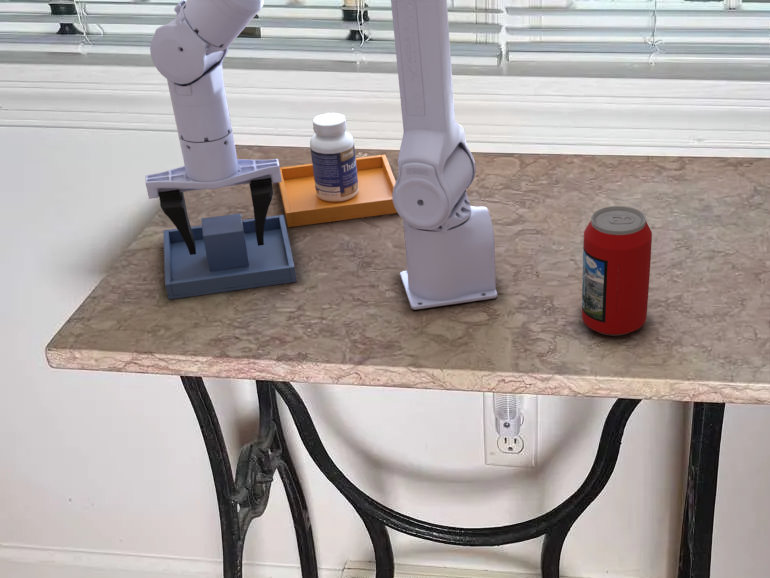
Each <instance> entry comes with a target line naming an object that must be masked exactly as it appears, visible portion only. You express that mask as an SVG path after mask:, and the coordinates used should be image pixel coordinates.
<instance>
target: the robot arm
mask: <svg viewBox="0 0 770 578" xmlns="http://www.w3.org/2000/svg"><path fill="white" fill-rule="evenodd" d="M264 4H265V0H181V1H179V2H178V3H177V4H176V5H175V7H174V8H173V11H174V12H175V18H174V19H173V20H171V21H170V22H168V23H166V24H162V25H160V26H159V27H157V28H156V29H155V31H154V35H153V37H152V38H151V41H150V44H149V45H150V46H149V53H150V57H151V60H152V63H153V65H154V67H155V69H156V70H157V72H158V73H159V74H160V75H161V76H162V77H164V78H165V79H166V81H167V87H168V91H169V96H170V101H171V106H172V111H173V116H174V120H175V125H176V131H177V136H178V141H179V145H180V150H181V155H182V160H183V166H179V167H176V168H172V169H169V170H165V171H161V172H157V173H152V174H146V175H145V177H144V180H145V182H144V183H145V186H146V187H145V188H146V193H147V195H148V199H149V200H151V199H157V198H158V199H159V206H160V208H161V210H162V211H163V213H164V214H165V215H166V217H167V218H168V219H169V220H170V221H171V223H172V224H173V225H174V226H175V229H178V231H179V232H180V234H181V236H182V237H183V239H184V241H185V243H186V245H187V248H188V250H189V253H190V255H193V254H196V247H195V241H194V236H193V233H192V229H191V227H192V226H191V223H190V219H189V215H188V210H187V204H186V200H185V192H194V191H202V190H215V189H221V188H225V187H233V186H241V185H249V190H250V196H251V201H252V202H251V203H252V208H253V219H254V220H255V231H256V237H257V243H258V246H260V245H264V226H265V220H266V217H268V216H267V215H268V212H269V208H270V205H271V202H272V200H273V196H274V186H273V184H277V183H278V182H282V179H281V173H280V161H279V158H273V159H247V158H246V159H243V158H242V159H240V158H238V154H237V150H236V143H235V138H234V132H233V127H232V120H231V115H230V109H229V104H228V97H227V92H226V85H225V79H224V76H225V75H224V74H225V73H224V68H223V63H224V60H225V58H226V57H227V55H228V51H229V47H230V46H231V44H232V43H233V42H234V41H235V40H236V39H237V38H238V36H239V35H240V34H241V33H242V32H243V31H244V29H246V27H247V26H248V25H249V24H250V23H251V22H252V20H253V19H254V18H255V16H256V15H258V13H259V12H260V11H261V10H262V9H263V7H264ZM390 4H391V5H390V6H391V15H392V26H393V36H394V37H393V38H394V47H395V57H396V68H397V77H398V87H399V97H400V98H399V99H400V108H401V110H400V111H401V119H402V129H403V133H402V139H401V143H400V147H399V153H398V157H397V167H398V170H397V171H398V173H397V178H396V180H395V181H396V183H395V186H394V188H393V195H392V198H393V204H394V207H395V209H396V211H397V213H396V214H398V215H399V217H400V218H401V219H402V221H403V222H402V223H403V233H404V246H405V259H406V270H402V271H400V272H399V278H400V280H401V283H402V286H403V289H404V291H405V294H406V297H407V300H408V302H409V306H410V309H412V310H421V309H422V310H423V309H429V308H436V307H443V306H451V305H458V304H464V303H465V304H466V303H471V302H478V301H485V300H491V299H496V298H497V297H498V291H497V284H496V279H497V278H496V277H497V276H496V248H495V247H496V245H495V232H494V227H493V221H492V217H491V214H490V210H489V209H488V208H487V207H486V206H475V205H473V206H472V205H471V203H470V200H469V197H468V194H467V192H468V191H467V189H468V188H469V187H470V186H471V185H472V183H473V182H474V180H475V177H476V173H477V172H476V171H477V166H476V161H475V158H474V155H473V154H472V152H471V150H470V148H469V146H468V144H467V141H466V140H467V139H466V130H465V128H464V126H463V125H461V124H459V123H458V122H456V117H455V115H456V114H455V101H454V100H455V99H454V85H453V84H454V83H453V70H452V58H451V56H452V55H451V41H450V27H449V12H448V11H449V10H448V0H390Z"/></svg>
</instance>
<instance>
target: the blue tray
mask: <svg viewBox="0 0 770 578" xmlns="http://www.w3.org/2000/svg"><path fill="white" fill-rule="evenodd" d="M242 223H243V229H244V235H245V240H246V246H247V252H248V259H249V266H247V267H239V268H232V269H225V270H217V271H210V270H209V265H208V260H207V255H206V250H205V245H204V240H203V232H202V224H201V225H195V226H191V229H192V233H193V236H194V241H195V247H196V254H193V255H190V253H189V250H188V248H187V245H186V243H185V241H184V239H183V237H182V236H181V234H180V232H179V231H178V229H177V228H171V229H164V230H163V232H162V233H163V255H164V256H163V260H164V261H163V263H164V283H165V284H164V286H165V290H166V295H167V299H168V300H175V299H176V300H177V299H183V298H189V297H197V296H204V295H205V296H206V295H213V294H219V293H226V292H232V291H233V292H235V291H240V290H247V289H255V288H262V287H269V286H276V285H283V284H290V283H291V284H292V283H297V282H298V281H297V273H296V268H295V263H294V257H293V254H292V253H293V252H292V249H291V243H290V238H289V234H288V230H287V223H286V218H285V214H279V215H271V216H266V220H265V226H264V245H260V246H258V243H257V237H256V231H255V220H254V218H250V219H242Z"/></svg>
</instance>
